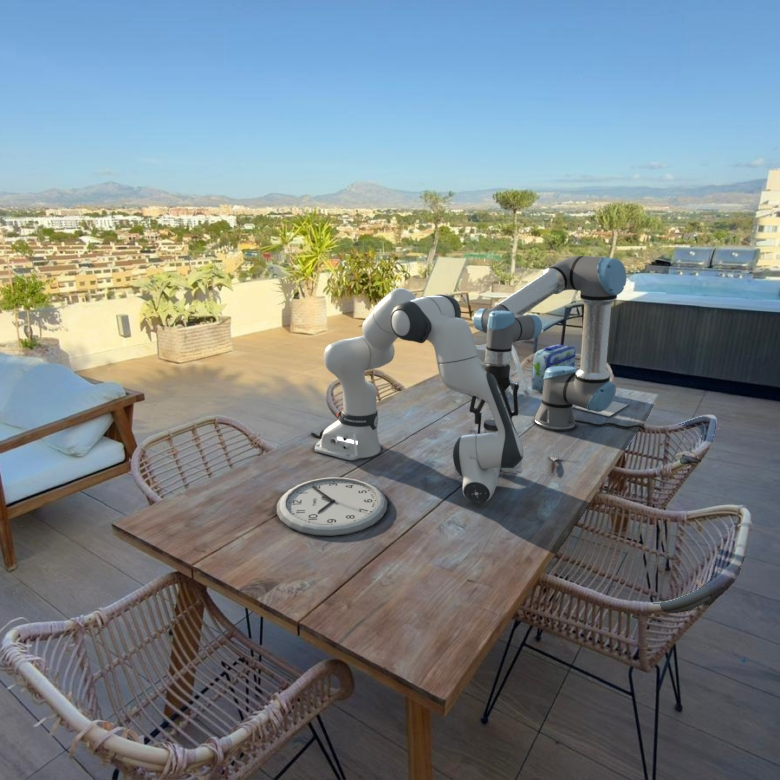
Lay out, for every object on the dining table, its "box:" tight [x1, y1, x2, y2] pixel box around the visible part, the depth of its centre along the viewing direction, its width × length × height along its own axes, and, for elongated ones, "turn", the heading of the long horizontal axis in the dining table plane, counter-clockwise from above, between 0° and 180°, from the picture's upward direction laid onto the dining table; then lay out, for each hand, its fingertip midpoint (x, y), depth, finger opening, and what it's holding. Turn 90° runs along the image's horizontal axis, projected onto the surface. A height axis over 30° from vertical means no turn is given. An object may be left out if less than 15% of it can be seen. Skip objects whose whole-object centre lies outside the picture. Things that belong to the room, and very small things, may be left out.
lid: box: [483, 419, 498, 431], centre depth 162 cm, size 5×5×2 cm
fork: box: [549, 449, 560, 474], centre depth 170 cm, size 3×16×2 cm, turn 160°
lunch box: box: [530, 344, 577, 392], centre depth 247 cm, size 26×11×21 cm, turn 134°
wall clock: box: [276, 476, 388, 537], centre depth 142 cm, size 30×2×30 cm
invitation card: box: [573, 400, 629, 418], centre depth 226 cm, size 21×1×15 cm
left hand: (490, 450), depth 165 cm, fingers closed on jar, 5 cm apart
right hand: (491, 434), depth 163 cm, fingers open, 7 cm apart
